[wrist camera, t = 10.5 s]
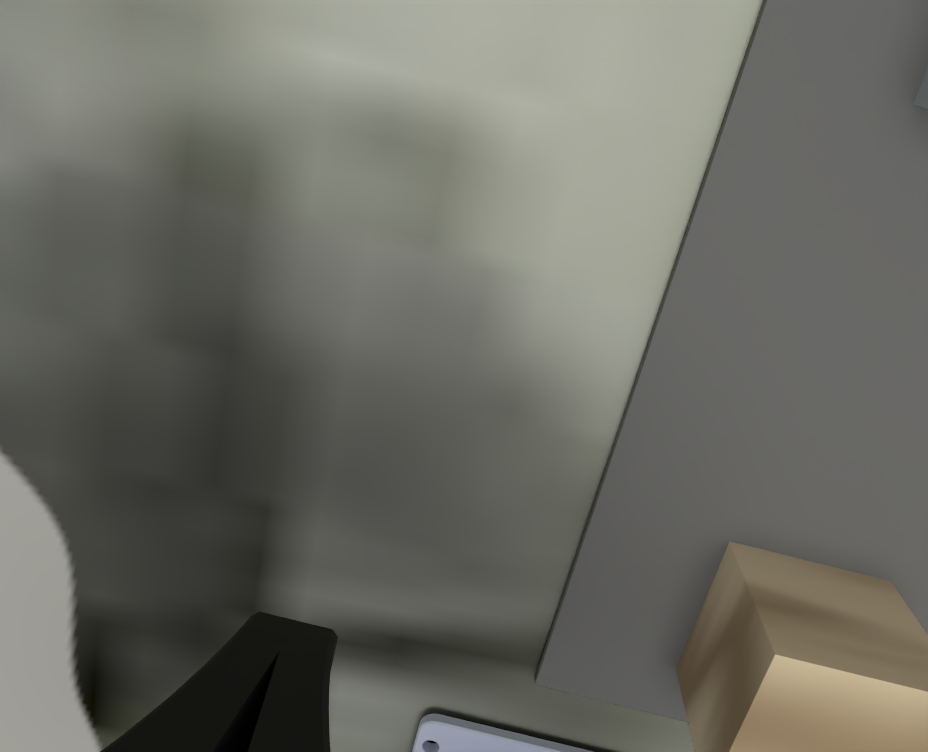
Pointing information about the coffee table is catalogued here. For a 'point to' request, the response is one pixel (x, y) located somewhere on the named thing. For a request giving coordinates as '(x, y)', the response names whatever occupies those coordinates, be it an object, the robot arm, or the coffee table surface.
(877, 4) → the mat
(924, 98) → the slate block
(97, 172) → the coffee table surface
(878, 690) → the beech block
